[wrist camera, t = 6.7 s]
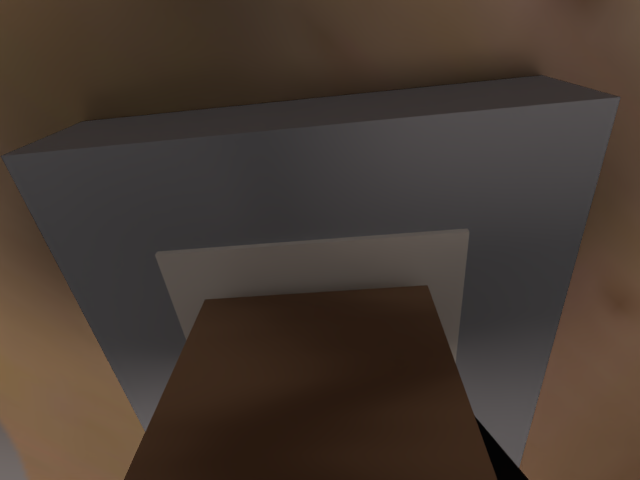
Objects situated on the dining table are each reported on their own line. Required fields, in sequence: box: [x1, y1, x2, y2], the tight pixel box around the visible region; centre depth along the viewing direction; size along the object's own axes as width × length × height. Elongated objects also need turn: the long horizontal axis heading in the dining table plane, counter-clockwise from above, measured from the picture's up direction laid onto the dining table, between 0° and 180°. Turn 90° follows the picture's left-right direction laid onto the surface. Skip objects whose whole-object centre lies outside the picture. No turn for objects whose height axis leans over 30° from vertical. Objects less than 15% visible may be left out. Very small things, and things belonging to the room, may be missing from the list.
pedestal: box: [1, 75, 620, 468], centre depth 12 cm, size 12×12×3 cm
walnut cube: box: [124, 285, 497, 480], centre depth 8 cm, size 5×5×5 cm
